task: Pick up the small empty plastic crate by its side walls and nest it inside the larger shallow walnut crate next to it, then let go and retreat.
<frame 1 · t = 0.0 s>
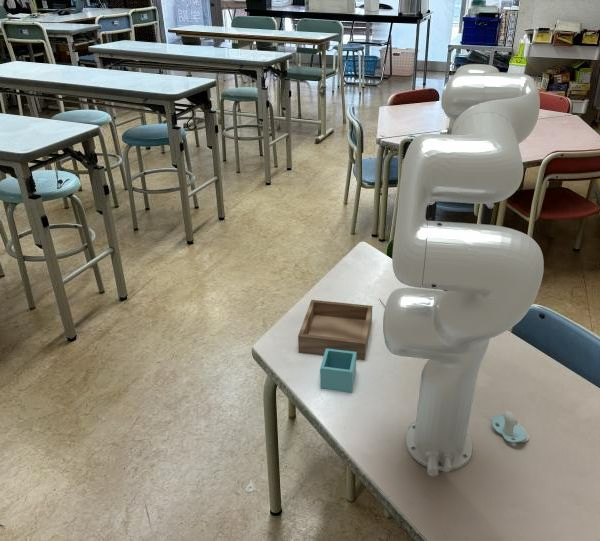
hand: (457, 222, 108), 37 cm above the table, tool pointing down, fingers open, 9 cm apart
small crate: (338, 380, 123), on the table
big crate: (336, 336, 137), on the table
magic wand: (388, 314, 146), on the table
pacifier: (510, 434, 109), on the table
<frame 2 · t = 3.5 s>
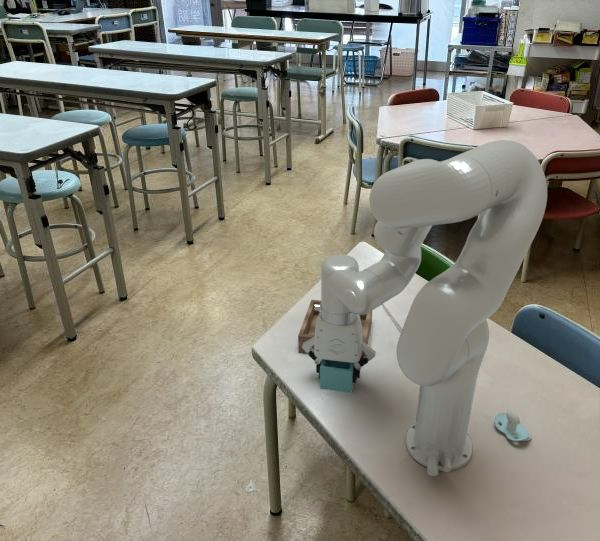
hand: (338, 376, 123), 1 cm above the table, tool pointing down, fingers closed on small crate, 7 cm apart
small crate: (338, 380, 123), on the table, touching gripper
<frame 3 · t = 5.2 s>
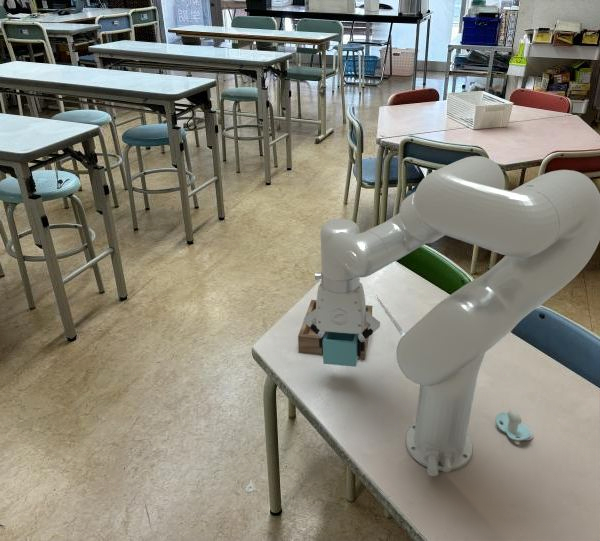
hand: (342, 350, 118), 9 cm above the table, tool pointing down, fingers closed on small crate, 7 cm apart
small crate: (342, 355, 119), point 8 cm above the table, touching gripper
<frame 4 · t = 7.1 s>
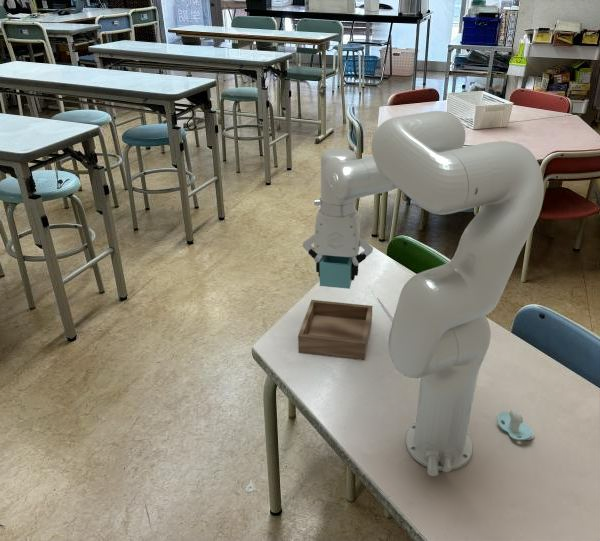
hand: (337, 275, 128), 18 cm above the table, tool pointing down, fingers closed on small crate, 7 cm apart
small crate: (336, 279, 129), point 17 cm above the table, touching gripper
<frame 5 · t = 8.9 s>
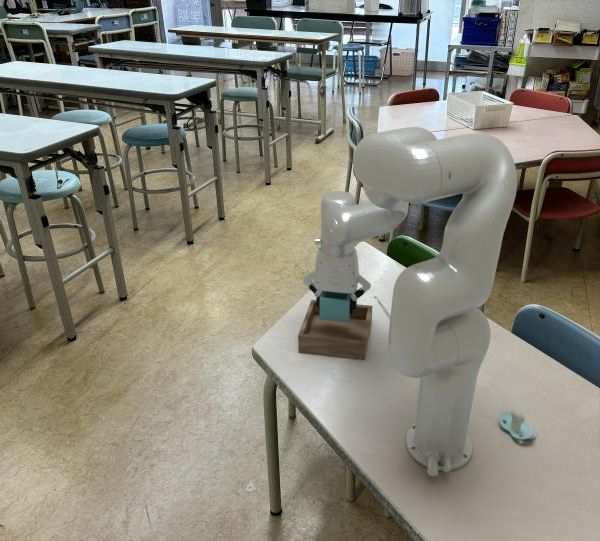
hand: (336, 309, 133), 8 cm above the table, tool pointing down, fingers closed on small crate, 7 cm apart
small crate: (336, 312, 134), point 7 cm above the table, touching gripper
when the fingers open (3 cm above the table, at t = 10.4 s): small crate drops 1 cm, resting on big crate.
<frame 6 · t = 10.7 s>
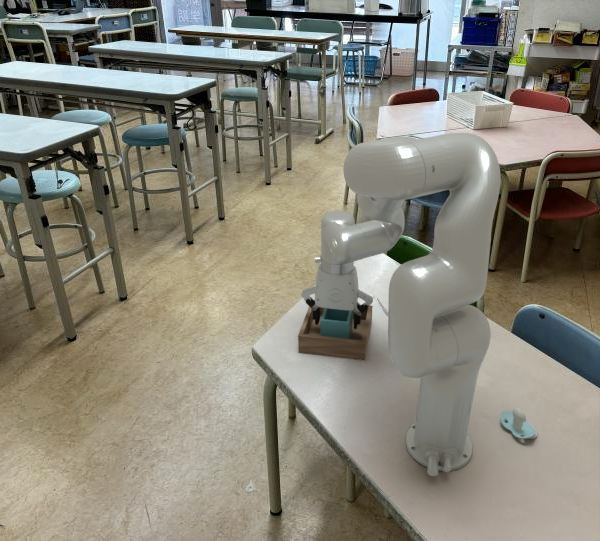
hand: (336, 323, 135), 4 cm above the table, tool pointing down, fingers open, 9 cm apart
small crate: (336, 333, 137), point 1 cm above the table, touching big crate
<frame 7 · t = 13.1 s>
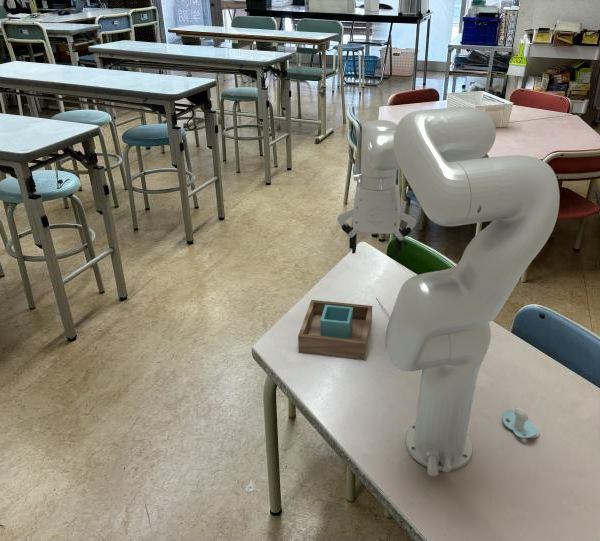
hand: (375, 252, 125), 24 cm above the table, tool pointing down, fingers open, 9 cm apart
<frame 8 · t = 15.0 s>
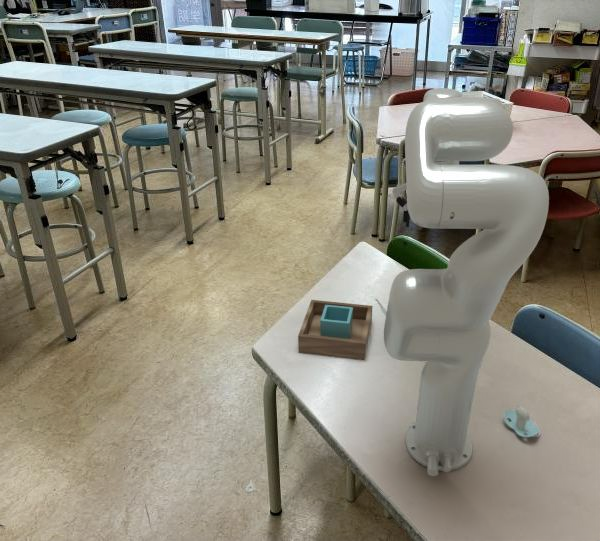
hand: (429, 226, 122), 30 cm above the table, tool pointing down, fingers open, 9 cm apart
at the end: small crate inside the target area on the big crate (0.1 cm from its centre), point 1.0 cm above the big crate's base; small crate tilted 0°; the gripper is holding nothing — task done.
